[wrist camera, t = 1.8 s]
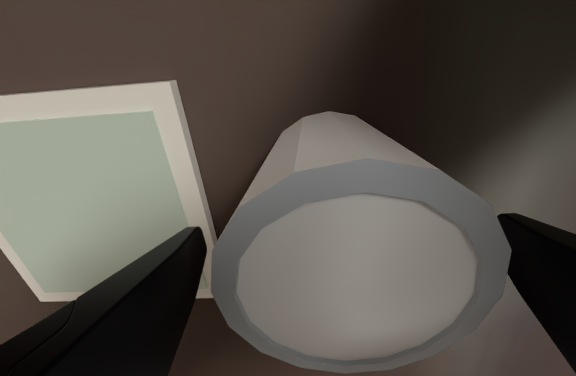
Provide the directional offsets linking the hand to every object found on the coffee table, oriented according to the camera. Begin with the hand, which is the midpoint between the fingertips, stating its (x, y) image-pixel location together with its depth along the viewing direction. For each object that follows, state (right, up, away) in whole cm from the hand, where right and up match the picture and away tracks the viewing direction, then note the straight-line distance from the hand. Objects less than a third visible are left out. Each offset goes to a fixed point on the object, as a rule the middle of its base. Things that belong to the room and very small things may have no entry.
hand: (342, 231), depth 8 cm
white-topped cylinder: (0, +2, +4) cm, 5 cm away
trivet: (-12, 0, +6) cm, 13 cm away
